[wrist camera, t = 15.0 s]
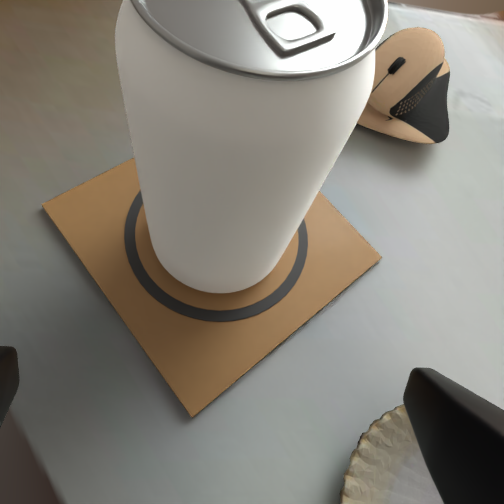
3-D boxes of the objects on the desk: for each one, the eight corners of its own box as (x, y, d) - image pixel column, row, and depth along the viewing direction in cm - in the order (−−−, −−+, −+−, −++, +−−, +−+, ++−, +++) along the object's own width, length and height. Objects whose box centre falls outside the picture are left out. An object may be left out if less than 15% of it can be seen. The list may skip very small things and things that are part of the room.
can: (235, 159, 21) (289, -127, 10) (308, 253, 19) (466, 32, 8) (125, 212, 19) (40, -85, 8) (197, 323, 17) (217, 145, 6)
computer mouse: (485, 97, 27) (531, 46, 23) (409, 178, 23) (451, 131, 19) (410, 43, 28) (444, -13, 24) (326, 111, 24) (350, 55, 20)
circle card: (191, 418, 16) (192, 418, 15) (43, 207, 18) (40, 203, 18) (379, 259, 20) (383, 256, 20) (237, 108, 23) (238, 103, 23)
